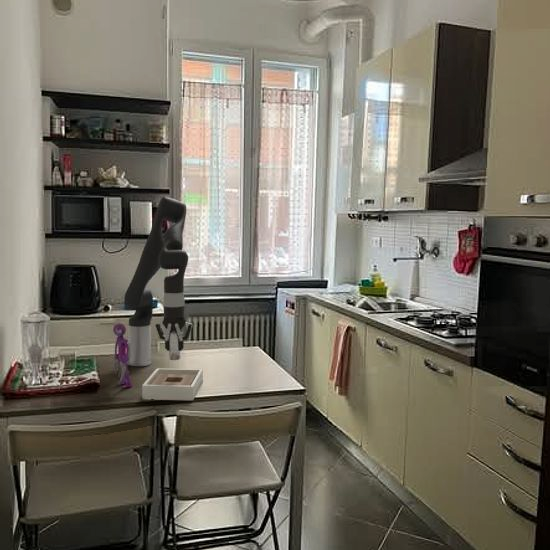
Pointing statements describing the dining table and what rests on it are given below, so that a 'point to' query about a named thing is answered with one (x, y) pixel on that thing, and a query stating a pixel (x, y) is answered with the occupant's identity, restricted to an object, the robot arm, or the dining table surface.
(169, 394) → the box
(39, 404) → the dining table surface
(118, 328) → the toy
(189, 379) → the bore plate
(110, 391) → the dining table surface
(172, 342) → the peg
